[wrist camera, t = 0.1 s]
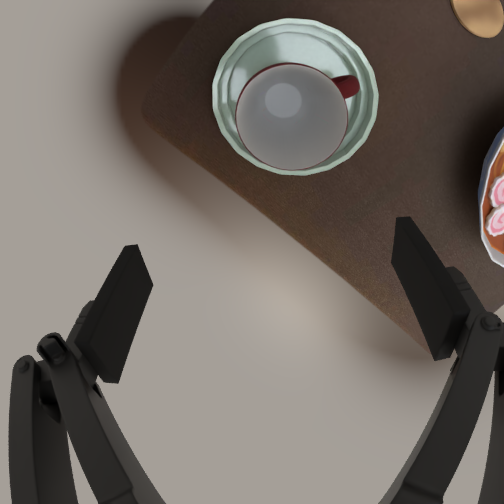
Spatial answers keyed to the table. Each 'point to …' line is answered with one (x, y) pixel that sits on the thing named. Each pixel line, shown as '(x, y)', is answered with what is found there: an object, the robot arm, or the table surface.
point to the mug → (293, 115)
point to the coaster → (479, 16)
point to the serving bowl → (305, 52)
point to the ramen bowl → (493, 200)
